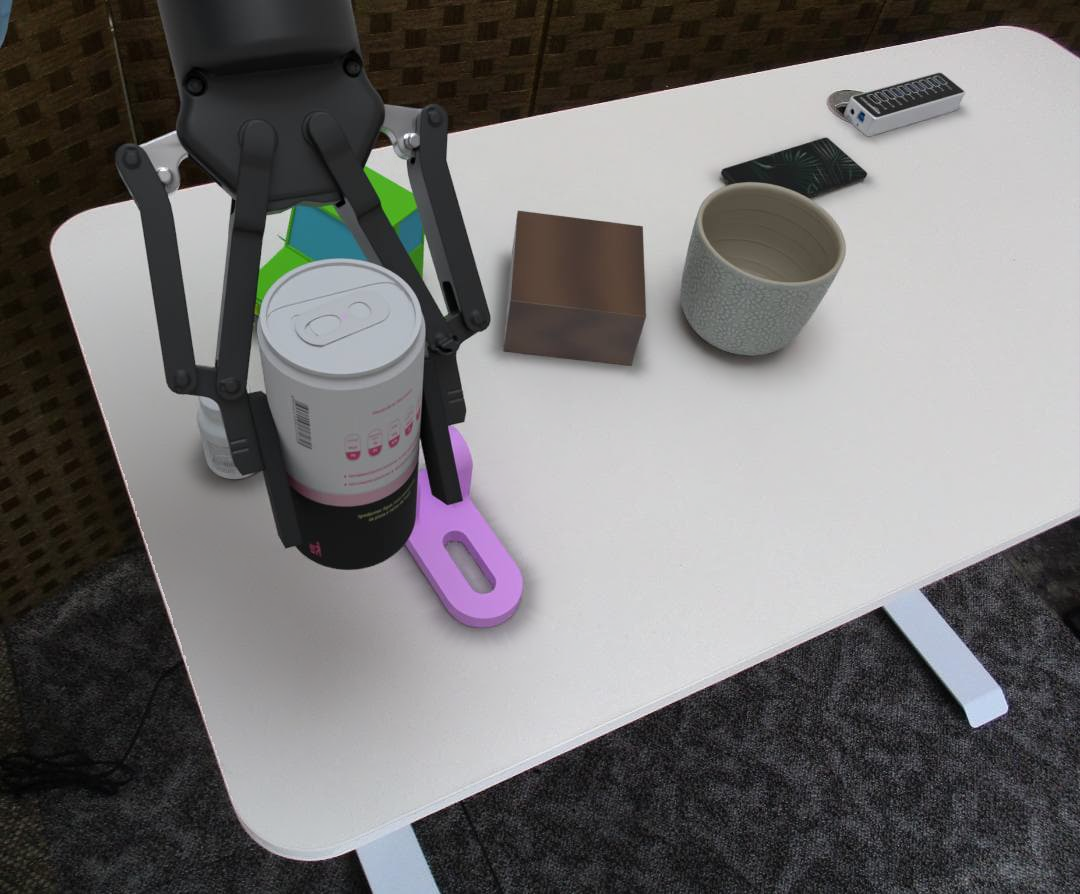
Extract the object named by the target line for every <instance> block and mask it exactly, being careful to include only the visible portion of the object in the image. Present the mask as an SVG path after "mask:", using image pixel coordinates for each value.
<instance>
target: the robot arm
mask: <svg viewBox="0 0 1080 894" xmlns="http://www.w3.org/2000/svg"><path fill="white" fill-rule="evenodd" d="M156 4H157V7H158V11H159V15H160V20H161V23H162V28H163V32H164V36H165V41H166V44H167V48H168V53H169V56H170V62H171V66H172V69H173V74H174V78H175V81H176V86H177V91H178V95H179V100H180V102H179V103H180V108H179V113H178V116H177V119H176V124H175V130H173V131H171V132H168V133H166V134H164V135H161V136H159V137H156V138H154V139H152V140H148V141H147V142H144V143H142V144H139V145H138V144H137V143H132V142H127V143H123V144H122V145H120V146H119V147H118V148H117V149H116V151H115V153H114V162H115V166H116V169H117V171H118V174H119V176H120V178H121V180H122V182H123V183H124V185H125V187H126V189H127V191H128V193H129V194H130V197H131V199H132V201H133V202H134V204H135V205H136V207H137V209H138V212H139V215H140V222H141V227H142V232H143V240H144V246H145V247H144V248H145V254H146V260H147V267H148V272H149V280H150V286H151V293H152V298H153V306H154V313H155V317H156V325H157V330H158V337H159V344H160V351H161V357H162V358H161V359H162V363H163V369H164V376H165V377H164V378H165V383H166V385H167V387H168V389H169V390H170V391H171V392H172V393H174V394H177V395H184V396H185V395H187V396H197V397H199V396H203V397H207V398H210V399H212V400H214V401H215V402H216V403H217V404H218V406H219V409H220V413H221V417H222V421H223V425H224V429H225V433H226V437H227V441H228V445H229V449H230V454H231V458H232V461H233V463H234V465H235V467H236V468H237V469H238V471H239V472H240V473H241V475H242V476H243V475H248V474H252V473H254V474H256V473H259V472H262V475H263V479H264V483H265V487H266V491H267V492H266V493H267V497H268V499H269V504H270V508H271V512H272V516H273V519H274V524H275V529H276V533H277V536H278V538H279V540H280V542H281V544H282V546H283V547H284V549H290V548H293V547H295V546H298V545H301V544H303V543H302V538H301V534H300V530H299V526H298V522H297V517H296V513H295V509H294V505H293V500H292V496H291V492H290V488H289V484H288V479H287V475H286V471H285V467H284V463H283V458H282V454H281V450H280V446H279V442H278V437H277V433H276V429H275V425H274V421H273V416H272V413H271V410H270V407H269V403H268V399H267V396H266V392H264V391H263V390H258V391H252V392H251V393H248V392H247V382H248V377H249V370H250V369H249V368H250V359H251V352H252V351H251V350H252V342H253V332H254V324H255V323H254V315H255V306H256V297H257V288H258V278H259V270H260V269H261V259H262V251H263V249H262V248H263V242H264V235H265V231H266V224H267V217H268V216H271V215H278V214H282V213H284V212H286V211H289V210H292V208H293V207H295V206H307V207H323V206H329V205H333V207H334V208H335V210H336V212H337V214H338V215H339V217H340V218H341V220H342V221H343V222H344V223H345V224H346V225H347V227H348V228H349V230H350V231H351V233H352V235H353V237H354V238H355V240H356V242H357V243H358V245H359V247H360V249H361V250H362V252H363V254H364V255H365V257H366V259H367V261H368V262H370V263H373V264H376V265H379V266H381V267H384V268H386V269H388V270H390V271H391V272H393V273H395V274H396V275H398V276H399V277H400V278H401V279H403V280H404V281H405V282H406V283H407V284H408V285H409V286H410V288H411V289H412V290H413V292H414V293H415V295H416V297H417V299H418V301H419V304H420V307H421V311H422V314H423V317H424V321H425V349H424V369H423V388H422V407H421V427H420V445H421V450H422V454H423V460H424V465H425V469H427V474H428V479H429V484H430V489H431V493H432V495H433V496H434V497H436V498H437V499H439V500H440V501H442V502H443V503H445V504H446V505H450V504H454V503H458V502H462V501H463V498H462V493H461V488H460V483H459V478H458V473H457V468H456V463H455V458H454V454H453V449H452V444H451V439H450V434H449V429H448V426H450V425H452V426H454V425H458V424H462V423H465V421H466V416H467V406H466V399H465V397H464V391H463V386H462V380H461V376H460V370H459V364H458V361H457V354H458V353H457V352H458V351H459V349H460V346H461V345H462V344H463V343H464V342H465V341H467V340H468V339H470V338H472V337H473V336H475V335H476V334H477V333H481V332H484V331H486V330H487V329H488V327H489V326H490V324H491V321H492V320H491V313H490V309H489V306H488V302H487V299H486V295H485V291H484V288H483V284H482V280H481V277H480V272H479V270H478V267H477V263H476V259H475V255H474V253H473V248H472V245H471V241H470V239H469V234H468V231H467V227H466V223H465V221H464V217H463V214H462V211H461V206H460V203H459V199H458V196H457V192H456V189H455V185H454V182H453V178H452V175H451V171H450V168H449V163H448V161H447V159H448V158H447V155H448V137H449V136H448V135H449V115H448V111H446V108H444V107H443V106H442V105H440V104H438V103H429V104H427V105H426V106H424V107H423V108H416V107H409V106H400V105H395V104H387V103H384V101H383V99H382V97H381V95H380V94H379V93H378V91H377V90H376V89H375V88H374V87H373V85H372V83H371V81H370V79H369V78H368V74H367V73H366V70H365V65H364V59H363V54H362V50H361V44H360V40H359V36H358V35H359V34H358V30H357V24H356V20H355V15H354V10H353V6H352V0H156ZM12 6H13V0H0V48H2V45H3V43H4V41H5V38H6V35H7V32H8V27H9V22H10V16H11V11H12ZM380 133H383V134H385V135H386V136H387V137H388V138H389V139H390V142H391V145H392V149H393V152H394V154H395V155H396V156H397V157H398V158H399V159H400V160H404V161H406V169H407V170H406V171H407V177H408V181H409V185H410V188H411V192H412V193H413V196H414V199H415V202H416V206H417V209H418V213H419V216H420V219H421V223H422V226H423V230H424V233H425V236H424V238H425V239H426V243H427V247H428V249H429V254H430V257H431V261H432V264H433V267H434V271H435V274H436V277H437V281H438V283H439V287H440V291H441V294H442V298H443V301H444V305H445V308H446V311H447V314H446V315H444V314H443V312H442V310H441V309H440V307H439V306H438V304H437V302H436V300H435V299H434V297H433V295H432V293H431V292H430V290H429V288H428V287H427V284H426V283H425V280H424V279H422V277H421V276H420V274H419V272H418V270H417V269H416V267H415V265H414V263H413V262H412V260H411V258H410V256H409V255H408V253H407V251H406V249H405V248H404V246H403V244H402V242H401V241H400V239H399V237H398V235H397V234H396V232H395V230H394V228H393V227H392V225H391V223H390V221H389V220H388V218H387V216H386V214H385V213H384V211H383V209H382V206H381V201H380V199H379V197H378V195H377V193H376V191H375V189H374V188H373V186H372V184H371V182H370V181H369V179H368V177H367V175H366V174H365V172H364V170H363V169H364V167H365V166H367V162H368V161H369V158H370V156H371V154H372V151H373V149H374V147H375V144H376V142H377V140H378V137H379V136H380ZM187 158H188V159H189V160H190V161H192V163H194V165H196V166H197V167H198V168H199V170H201V171H202V172H204V173H205V174H206V175H207V176H208V177H209V179H211V180H212V181H213V182H214V183H215V184H216V185H218V186H219V187H220V188H221V189H222V190H223V191H224V192H225V193H226V194H227V195H229V196H230V197H231V200H230V201H231V202H230V210H229V220H228V232H227V245H226V255H225V263H224V273H223V281H222V282H223V283H222V291H221V301H220V309H219V310H220V311H219V319H218V330H217V337H216V348H215V357H214V365H213V366H210V365H202V364H196V357H195V351H194V350H195V349H194V344H193V338H192V337H193V336H192V332H191V325H190V318H189V310H188V304H187V303H188V302H187V297H186V290H185V284H184V278H183V271H182V270H183V269H182V263H181V258H180V257H181V256H180V250H179V243H178V236H177V229H176V223H175V217H174V212H173V207H172V203H171V200H170V197H169V196H171V195H174V194H175V193H176V192H177V191H178V190H179V187H180V184H181V175H180V171H179V166H180V164H181V163H182V162H183V160H185V159H187ZM252 475H253V474H252Z"/></svg>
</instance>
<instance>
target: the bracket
mask: <svg viewBox="0 0 1080 894" xmlns="http://www.w3.org/2000/svg"><path fill="white" fill-rule="evenodd" d="M448 429H449V434H450V439H451V444H452V449H453V454H454V458H455V463H456V468H457V473H458V478H459V483H460V488H461V493H462V498H463V501H462V502H458V503H454V504H450V505H446V504H445V503H443V502H442V501H440V500H439V499H437V498H436V497H434V496H433V495H432V493H431V489H430V484H429V479H428V474H427V469H426V468H425V469H423V470H419V471H418V485H417V504H416V520H415V525H414V528H413V531H412V533H411V535H410V537H409V539H408V540H407V542H406V543H405V545H404V546H405V547H406V548H407V550H408V551H409V553H410V555H411V556H412V557H413V559H414V560H415V562H416V564H417V565H418V567H419V569H420V570H421V572H422V573H423V574H424V576H425V577H426V580H427V581H428V582H429V584H430V585H431V587H432V588H433V590H434V591H435V594H436V595H437V596H438V598H439V599H440V601H441V602H442V604H443V605H444V607H445V608H446V610H447V612H448V613H449V615H451V616H452V617H453V618H454V619H455V620H457V621H458V622H460V623H462V624H464V625H466V626H469V627H473V628H479V629H480V628H481V629H483V628H493V627H497V626H498V625H501V624H503V623H505V622H506V621H508V620H509V619H510V618H511V617H512V616H513V615H514V613H515V612H516V611H517V609H518V607H519V605H520V601H521V597H522V594H523V589H524V588H523V587H524V582H523V576H522V573H521V570H520V568H519V566H518V565H517V563H516V562H515V560H514V559H513V558H512V556H511V555H510V553H509V552H508V550H507V549H506V547H505V546H504V545H503V544H502V542H501V541H500V539H499V538H498V536H497V535H496V533H495V532H494V531H493V529H492V528H491V527H490V525H489V524H488V522H487V521H486V519H485V518H484V516H483V515H482V513H481V512H480V511H479V510H478V508H477V507H476V505H475V504H474V502H473V500H472V498H471V495H470V492H471V485H472V476H473V469H474V468H473V467H474V463H473V457H472V453H471V451H470V448H469V445H468V443H467V442H466V440H465V437H464V436H463V435H462V433H461V432H460V430H458V428H456V427H455V426H454V425H450V426H448ZM455 541H456V542H459V543H461V544H462V545H464V546H465V548H466V549H467V551H468V552H469V554H470V555H471V557H472V558H473V560H474V561H475V563H476V565H477V566H478V567H479V568H480V569H481V571H482V573H483V574H484V576H485V578H486V579H487V581H489V583H490V584H491V586H492V588H493V589H492V590H491V591H490V592H488V593H480V592H477V591H475V590H474V588H472V587H471V585H470V583H469V582H468V581H467V579H466V578H465V576H464V575H463V573H462V571H461V570H460V568H459V567H458V565H457V564H456V563H455V561H454V559H453V557H452V556H451V555H450V553H449V552H448V551H447V548H445V545H446V544H447V543H450V542H455Z"/></svg>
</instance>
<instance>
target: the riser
mask: <svg viewBox="0 0 1080 894" xmlns="http://www.w3.org/2000/svg"><path fill="white" fill-rule="evenodd" d="M515 219H516V220H515V226H514V227H515V228H514V232H513V233H514V235H513V240H512V249H511V256H510V265H509V274H508V275H509V277H508V289H507V299H506V300H507V301H506V313H505V323H504V325H505V326H504V338H503V349H502V350H503V352H510V353H518V354H519V353H520V354H526V355H536V356H543V357H554V358H562V359H571V360H579V361H588V362H596V363H605V364H614V365H621V366H622V365H624V366H632V365H633V362H634V359H635V355H636V352H637V348H638V345H639V342H640V338H641V335H642V332H643V328H644V325H645V323H646V319H647V302H646V299H647V298H646V275H645V246H644V245H645V243H644V226H643V225H636V224H628V223H622V222H621V223H620V222H612V221H604V220H596V219H588V218H581V217H573V216H564V215H557V214H548V213H541V212H535V211H534V212H532V211H525V210H517V212H516V218H515Z"/></svg>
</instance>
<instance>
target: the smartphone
mask: <svg viewBox="0 0 1080 894" xmlns="http://www.w3.org/2000/svg"><path fill="white" fill-rule="evenodd" d="M720 175H721V176H722V178H723V179H725V180H726V181H727V183H729V185H731V184H736V183H745V182H757V183H766V184H772V185H777V186H780V187H784V188H787V189H790V190H792V191H795V192H797V193H799V194H802V195H804V196H805V197H807V198H809V199H810V198H811V197H814V196H817V195H820V194H823V193H827V192H830V191H832V190H835V189H838V188H842V187H844V186H847V185H850V184H852V183H855V182H858V181H862V180H864V179H866V178H867V176H868V172H867V171H866V169H863V168H862V166H860V165H859V164H858V162H856V161H855V160H854V159H853V158H851V157H850V156H849V155H848V154H847V153H846V152H845V151H843V149H841V148H840V147H839V146H838V145H837V144H836V143H834V142H833V141H832V140H831V139H830V138H829V137H822V138H819V139H816V140H811V141H809V142H806V143H802V144H799V145H796V146H793V147H790V148H789V147H788V148H786V149H783V150H780V151H775V152H772V153H769V154H766V155H764V156H763V155H762V156H760V157H757V158H754V159H749V160H747V161H743V162H741V163H737V164H734V165H731V166H728V167H724V168H722V170H721V171H720Z"/></svg>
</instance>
